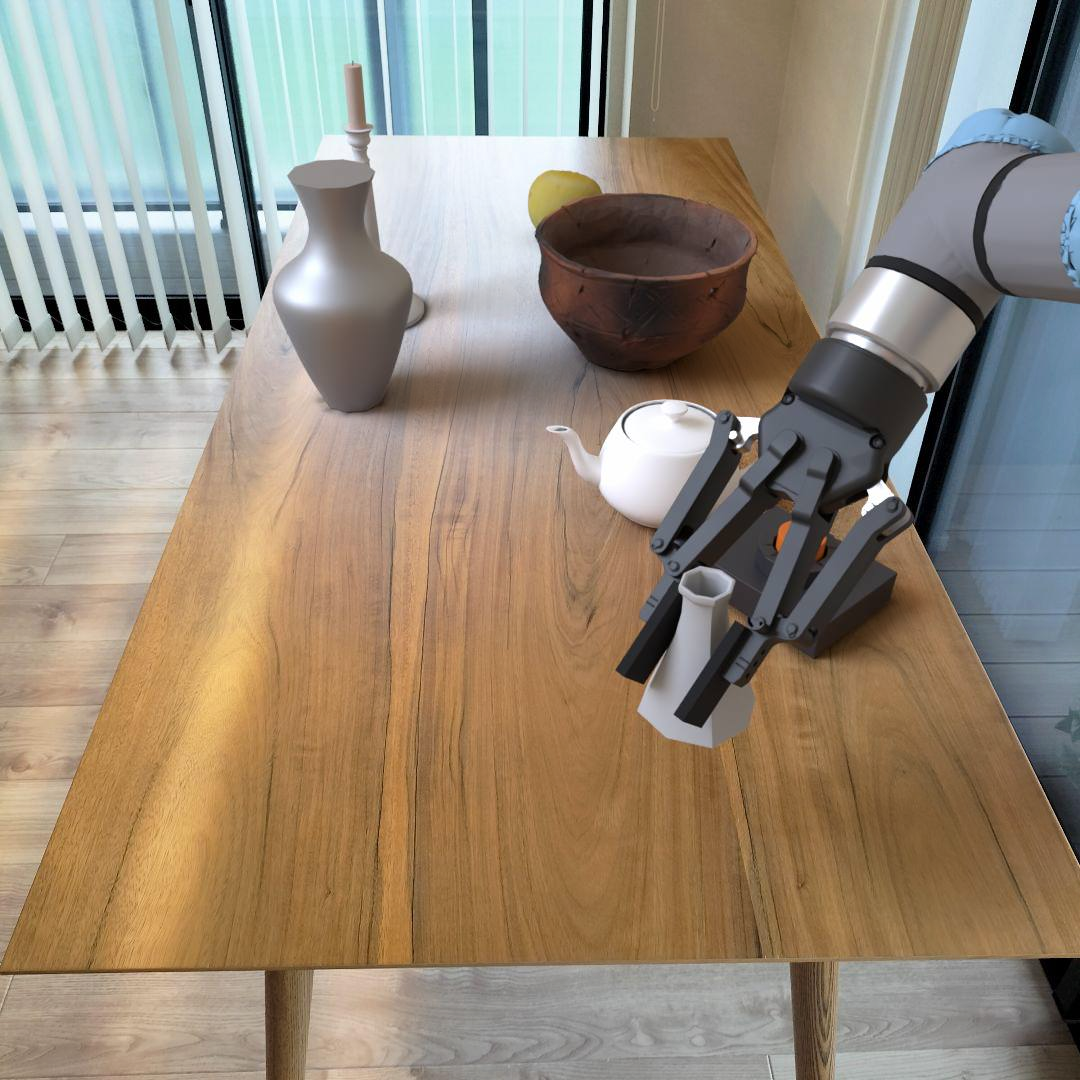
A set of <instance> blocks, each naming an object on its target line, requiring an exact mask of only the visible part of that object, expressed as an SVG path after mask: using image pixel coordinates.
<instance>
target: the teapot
mask: <svg viewBox="0 0 1080 1080" xmlns="http://www.w3.org/2000/svg"><path fill="white" fill-rule="evenodd" d="M716 416H717V413H715V412H713V410H711V409H709V408H707V407H705V406H703V405H700V404H697V403H694V402H690V401H686V400H680V399H653V400H648V401H647V400H646V401H644V402H643V401H642V402H639V403H637V404H634V405H632V406H630V407H629V408H628V409H627V410H625V411H624V412H623V413H622V414H621V415H620V416H619V418H618V419H617V421H616V422H615V423H614V425H613V427H612V428H611V430H610V432H609V433H608V435H607V437H606V438H605V440H604V443H603V444H602V446H601V449H600V452H599V455H595V454H591V453H589V452H588V451H586V450H585V448H584V446H583V444H582V441H581V439H580V437H579V435H578V433H577V432H576V430H574V429H573V428H571V427H569V426H565V425H549V426H546V428H545V430H546V431H547V432H550V433H552V434H554V435H555V436H557V437H559V438H561V439H562V441H563V442H564V443H565V445H566V446H567V449H568V451H569V454H570V457H571V460H572V464H573V467H574V469H575V471H576V473H577V474H578V475H579V477H580V478H581V479H582V480H583V481H585V482H586V483H588V484H589V485H591V486H594V487H598V489H599V491H600V494H601V495H602V497H603V498H604V499H605V501H606V502H607V503H608V504H609V505H610V506H611V507H612V508H613V509H614V510H616V511H617V512H618V513H619V514H622V516H624V517H626V518H627V519H629V520H630V521H632V522H635V523H637V524H638V525H642V526H644V527H648V528H652V529H658V527H659V526H660V524H661V522H662V521H663V519H664V518H665V516H666V514H667V513H668V511H669V509H670V508H671V506H672V504H673V503H674V501H675V499H676V498H677V496H678V494H679V493H680V491H681V490H682V488H683V486H684V485H685V483H686V481H687V480H688V478H689V476H690V475H691V473H692V471H693V470H694V468H695V466H696V465H697V463H698V462H699V460H700V458H701V457H702V455H703V453H704V452H705V450H706V448H707V447H708V445H709V443H710V439H711V435H712V431H713V426H714V422H715V418H716ZM754 443H757V444H758V440H756V441H755V442H754ZM757 460H758V458H757V459H755V460H754V461H753V462H752V463H750V464H748V465H747V466H746V467H744V468H742V469H740V467H739V466H740V464H739V465H738V467H737V469H736V471H735V472H734V474H733V476H732V477H731V479H730V481H729V482H728V484H727V485H726V487H725V489H724V490H723V492H722V494H721V495H720V497H719V499H718V500H717V502H716V504H715V505H714V507H713V508H712V510H711V512H710V513H709V515H708V517H707V518H706V520H707V519H708V518H709V517H710V516H711V515H712V514H713V512H714V511H715V510H716V509H717V508H718V507H719V506H720V505H721V504H722V503H723V502H724V501H725V500H726V499H727V498H728V497H729V496H730V494H731V493H732V492H733V491H734V490H735V489H736V488H737V487H738V485H739V481H740V479H741V477H742V476H743V475H744V474H745V473H746V471H747V470H748V469H749V468H750V467H751V466H752V465H753V464H754V463H755V462H756V461H757ZM706 520H705V521H706Z"/></svg>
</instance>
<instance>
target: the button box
mask: <svg viewBox="0 0 1080 1080" xmlns="http://www.w3.org/2000/svg"><path fill="white" fill-rule="evenodd" d="M791 514H792V512H790V511H788V510H786V509H785V508H782V507H780V506H779V505H778V504H777V505H776V506H775V507H773V508H772V509H768V510H766V511H765V512H764V513H763V514H762V515H761V516H760V517H759V518H758V519H757V520H756V521H755V522H754V523H753V524H752V525H751V526H750V527H749V529H748V530H747V531H746V532H745V533H744V534H743V535H742V536H741V537H740V538H739V539H738V540H737V541H736V542H735V543H734V544H733V545H732V546H731V547H730V548H729V549H728V551H727V552H726V553H725V554H724V555H723V556H722V557H721V558H720V559H719V560H718V561H717V562H716V563H715V564H714V565H713V566H712V567H711V568H714V569H719V570H722V571H723V572H725V573H726V574H727V575H729V576H730V577H732V578H733V579H734V580H735V586H734V589H733V592H732V595H731V598H730V600H729V601H728V606H729V605H730V606H731V607H732V608H734V609H735V610H737V611H739V612H740V613H741V614H743V615H745V616H747V617H749V618H752V616H753V614H754V611H755V609H756V606H757V604H758V601H759V599H760V597H761V594H762V592H763V589H764V587H765V584H766V582H767V580H768V577H769V575H770V572H771V570H772V567H773V565H774V563H775V560H776V558H777V555H778V552H777V550H776V542H777V537H778V531H779V528H780V527H781V525H782V524H784V523H786V522H788V521H792V515H791ZM842 541H843V540H840V539H838V538H836V537H835V536H834V535H833V534H831V533H830V532H829V534H828V536H827V540H826V545H825V549H824V554H823V557H822V558H821V559H820V560H819V561H817V562H815V563H813V566H812V568H811V570H810V573H809V575H808V578H807V580H806V583H805V585H804V588H803V590H802V592H801V595H800V597H799V600H798V602H797V604H798V603H799V601H800V600H801V598H802V597H803V596H804V594H805V593H806V591H807V590H808V589H809V587H810V586H811V584H812V583H813V582H814V580H815V579H816V577H817V576H818V574H819V573H820V572H821V570H822V569H823V567H824V566H825V565H826V563H827V562H828V560H829V559H830V558H831V556H832V555H833V553H834V552H835V551H836V549H837V548H838V546H839V545H840V543H841V542H842ZM898 574H899V573H898V572H897V571H896V570H894V569H892V568H890V567H889V566H886V565H885V564H883V563H881V562H879V561H877V560H876V559H874V561H873V562H872V563H871V565H870V566H869V568H868V569H867V570H866V572H865V573H864V575H863V576H862V577H861V579H860V580H859V582H858V583H857V584H856V586H855V587H854V589H853V590H852V591H851V593H850V594H849V596H848V597H847V598H846V600H845V601H844V603H843V604H842V606H841V607H840V608H839V610H838V611H837V613H836V614H835V615H834V617H833V618H832V620H831V621H830V622H829V624H828V625H827V627H826V628H825V629H824V631H823V632H822V634H821V635H820V636H819V638H818V639H817V641H816V642H815V643H814V645H812V646H811V647H809V648H802V647H800V646H796V645H792V646H793V647H794V648H796V649H798V650H799V651H801V652H802V653H804V654H806V655H807V656H809V657H810V658H812V659H815V658H816V657H818V656H819V655H820V654H821V653H823V652H824V651H825V650H827V649H828V648H830V647H831V646H832V645H833V644H834V643H836V642H838V641H839V640H840V639H841V638H843V637H844V636H845V635H847V634H849V633H850V632H851V631H852V630H853V629H855V628H856V627H857V626H858V625H861V624H862V623H863V622H864V621H865V620H867V619H868V618H869V617H871V616H872V615H873V614H874V613H876V612H877V611H878V610H880V609H882V607H884V606H885V605H887V604H888V603H889V602H891V599H892V595H893V591H894V588H895V584H896V581H897V577H898ZM796 606H797V605H796Z"/></svg>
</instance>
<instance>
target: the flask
mask: <svg viewBox="0 0 1080 1080" xmlns="http://www.w3.org/2000/svg"><path fill="white" fill-rule="evenodd" d="M734 586H735V580H734V579H733V578H732V577H730V576H729V575H727V574H726V573H725V572H723V571H722V570H719V569H714V568H708V567H703V566H699V567H697V568H694V569H692V570H690V571H688V572H686V573H684V574H683V576H682V579H681V581H680V584H679V587H678V590H679V593H680V594H682V595H683V603H682V613H681V617H680V620H679V623H678V627H677V630H676V632H675V634H674V636H673V638H672V641H671V643H670V645H669V647H668V649H667V650H666V652H665V653H664V655H663V656H662V658H661V659H660V661H659V662H658V664H657V665H656V667H655V668H654V670H653V671H652V673H651V675H650V678H649V680H648V682H647V685H646V688H645V690H644V692H643V695H642V698H641V700H640V703H639V705H638V708H637V712H638V713H639V714H640V715H641V717H643V718H644V719H645V720H646V721H647V722H648V723H649V724H650V725H652V726H653V728H655V729H656V730H657V731H658V732H659V733H660V734H661V735H662V736H663V737H665V738H666V739H670V740H674V741H678V742H682V743H687V744H690V745H691V744H692V745H694V746H699V747H704V748H709V749H715V748H717V747H718V746H720V745H721V744H724V743H725V742H727V741H729V740H730V739H732V738H734V737H737V736H738V735H740V734H742V733H743V732H745V731H747V730H748V729H749V725H750V722H751V718H752V714H753V710H754V706H755V702H756V696H755V692H754V690H753V687H752V684H751V681H750V682H749V683H748V684H746V685H745V686H744V687H742V688H741V687H738V686H736V685H734V684H732V683H731V685H730V686H729V688H728V689H727V691H726V692H725V694H724V695H723V697H722V698H721V700H720V701H719V703H718V704H717V706H716V707H715V709H714V710H713V712H712V713H711V715H710V716H709V718H708V719H707V721H706V722H705V724H704V726H703V727H702V728H699V727H696V726H693V725H691V724H688V723H685V722H682V721H681V720H680V719H679V718H677V717H676V716H675V715H673V714H674V713H675V711H676V710H677V708H678V707H679V705H680V703H681V702H682V700H683V699H684V697H685V696H686V694H687V693H688V691H689V690H690V688H691V687H692V685H693V684H694V682H695V681H696V679H697V678H698V676H699V675H700V673H701V671H702V670H703V668H704V667H705V665H706V664H707V662H708V661H709V659H710V658H711V656H712V655H713V653H714V652H715V650H716V649H717V647H718V646H719V644H720V643H721V641H722V640H723V638H724V636H725V635H726V633H727V632H728V630H729V629H730V627H731V621H730V614H729V613H730V612H729V604H728V601H729V600H730V598H731V595H732V592H733V589H734Z"/></svg>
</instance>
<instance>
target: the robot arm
mask: <svg viewBox="0 0 1080 1080" xmlns="http://www.w3.org/2000/svg"><path fill="white" fill-rule="evenodd" d="M1003 296H1008V297H1014V298H1023V299H1036V300H1043V301H1050V302H1051V301H1052V302H1059V303H1067V304H1074V305H1075V304H1076V305H1080V151H1077V150H1076V149H1075V147H1074V146H1073V144H1072V142H1070V140H1069V139H1068V138H1067V137H1066V136H1065V134H1063V133H1062V132H1061V131H1059V130H1058V129H1057V128H1055V127H1054V126H1053V125H1051V124H1050V123H1048V122H1046V121H1045V120H1043V119H1041V118H1040V117H1037V116H1035V115H1032V114H1030V113H1026V112H1024V113H1021V114H1017V113H1014V112H1013V111H1011V110H1010V109H1008V108H1005V107H991V108H986V109H981V110H978V111H976V112H974V113H972V114H971V115H969V116H967V117H966V118H964V119H963V120H962V121H961V122H960V124H958V125H957V127H956V129H955V130H954V132H953V133H952V134H951V136H950V137H949V139H948V140H947V141H946V143H945V144H944V145H943V147H942V148H941V150H940V151H938V152H937V153H936V154H935V157H933V158H931V159H930V161H928V164H927V165H926V166H925V168H924V169H923V171H922V173H921V174H920V178H919V180H918V181H917V183H916V184H915V186H914V188H913V189H912V191H911V192H910V194H909V196H908V197H907V199H905V202H904V203H903V205H902V207H901V208H900V210H899V211H898V213H897V215H896V216H895V218H894V219H893V221H892V223H891V224H890V225H889V227H888V228H887V230H886V232H885V233H884V235H883V237H882V238H881V240H880V241H879V243H878V244H877V246H876V248H875V249H874V251H873V252H872V254H871V256H870V257H869V259H868V262H867V263H866V265H865V266H864V268H863V269H861V271H860V273H859V275H857V278H856V279H855V280H854V282H853V283H852V285H851V286H850V287H849V289H848V291H847V293H846V294H845V295H844V297H842V298H843V299H842V300H841V301H840V303H839V305H838V306H837V307H836V309H835V311H834V312H833V314H832V315H831V316H830V318H829V320H828V321H827V322H826V324H825V332H826V336H827V337H823V338H821V339H817V340H815V341H814V343H813V344H812V346H811V348H810V349H809V351H808V352H807V354H806V356H804V358H803V360H802V361H801V363H800V364H799V365H798V367H797V369H796V371H795V372H794V373H793V375H792V377H791V378H790V380H789V381H788V383H787V385H786V388H785V390H784V392H783V396H782V398H781V399H780V401H778V402H777V404H775V405H774V406H773V407H771V408H770V409H768V410H766V411H765V412H764V413H763V414H762V415H761V417H747V416H736V414H734V413H733V412H732V411H731V410H730V409H722V410H721V411H719V412H718V413H716V415H717V416H716V418H715V422H714V426H713V431H712V435H711V439H710V443H709V445H708V447H707V448H706V450H705V452H704V453H703V455H702V457H701V458H700V460H699V462H698V463H697V465H696V466H695V468H694V470H693V471H692V473H691V475H690V476H689V478H688V480H687V481H686V483H685V485H684V486H683V488H682V490H681V491H680V493H679V494H678V496H677V498H676V499H675V501H674V503H673V504H672V506H671V508H670V509H669V511H668V513H667V514H666V516H665V518H664V519H663V521H662V522H661V524H660V526H659V527H658V528H656V531H655V532H654V534H653V535H652V537H651V539H650V541H649V548H650V551H651V552H652V553H654V554H655V555H656V556H657V558H658V559H659V561H660V563H661V564H662V566H663V573H662V576H661V578H660V579H659V580H658V582H657V584H656V585H655V587H654V588H653V590H652V592H651V593H650V595H649V596H648V598H647V599H646V601H645V602H644V604H643V605H642V607H641V609H640V610H639V611H640V612H639V616H638V619H640V620H641V621H642V622H644V625H643V627H642V628H641V630H640V631H639V633H638V634H637V636H636V638H635V639H634V641H633V642H632V643H631V645H630V647H629V648H628V649H627V651H626V653H625V655H624V656H623V657H622V659H621V660H620V662H619V663H618V664H617V666H616V668H615V670H614V671H615V672H616V673H618V674H619V675H621V677H623V678H625V679H628V680H630V681H632V682H635V683H638V684H641V685H643V686H644V685H645V684H646V682H647V681H648V679H650V678H649V677H651V675H652V674H653V672H654V671H655V669H656V667H657V665H658V664H659V662H660V660H661V658H662V657H663V655H664V653H665V652H666V650H667V649H668V647H669V645H670V643H671V641H672V638H673V636H674V634H675V632H676V630H677V627H678V623H679V620H680V617H681V613H682V603H683V595H682V594H680V593H679V590H678V587H679V584H680V581H681V579H682V576H683V574H684V573H686V572H688V571H690V570H692V569H694V568H697V567H699V566H703V567H708V568H711V567H712V566H713V565H714V564H715V563H716V562H717V561H718V560H719V559H720V558H721V557H722V556H723V555H724V554H725V553H726V552H727V551H728V549H729V548H730V547H731V546H732V545H733V544H734V543H735V542H736V541H737V540H738V539H739V538H740V537H741V536H742V535H743V534H744V533H745V532H746V531H747V530H748V529H749V527H750V526H751V525H752V524H753V523H754V522H755V521H756V520H757V519H758V518H759V517H760V516H761V515H762V514H763V513H765V512H766V511H768V510H770V509H772V508H773V507H775V506H776V505H777V506H778V504H779V503H780V502H781V501H782V500H784V501H788V502H792V503H794V505H793V507H792V510H791V515H792V521H791V524H790V526H789V529H788V531H787V534H786V536H785V538H784V541H783V543H782V546H781V548H780V551H779V553H778V555H777V558H776V560H775V563H774V565H773V567H772V570H771V572H770V575H769V577H768V580H767V582H766V584H765V587H764V589H763V592H762V594H761V597H760V599H759V601H758V604H757V606H756V609H755V611H754V614H753V616H752V618H750V617H748V616H747V615H745V616H746V617H745V625H744V624H742V623H741V622H739V621H738V620H736V619H735V620H734V621H733V623H732V624H731V625H730V629H729V630H728V632H727V633H726V635H725V636H724V638H723V640H722V641H721V643H720V644H719V646H718V647H717V649H716V650H715V652H714V653H713V655H712V656H711V658H710V659H709V661H708V662H707V664H706V665H705V667H704V668H703V670H702V671H701V673H700V675H699V676H698V678H697V679H696V681H695V682H694V684H693V685H692V687H691V688H690V690H689V691H688V693H687V694H686V696H685V697H684V699H683V700H682V702H681V703H680V705H679V707H678V708H677V710H676V711H675V713H674V714H673V715H675V716H676V717H677V718H679V719H680V720H681V721H682V722H685V723H688V724H691V725H693V726H696V727H699V728H702V727H703V726H704V724H705V722H706V721H707V719H708V718H709V716H710V715H711V713H712V712H713V710H714V709H715V707H716V706H717V704H718V703H719V701H720V700H721V698H722V697H723V695H724V694H725V692H726V691H727V689H728V688H729V686H730V685H731V683H732V684H734V685H736V686H738V687H741V688H742V687H744V686H745V685H746V684H748V683H749V682H750V683H751V680H752V679H753V677H754V676H755V674H756V672H757V671H758V670H759V668H760V667H761V665H762V663H763V662H764V661H765V659H766V657H767V656H768V654H770V651H771V650H772V649H773V647H775V646H776V645H779V644H786V645H787V644H788V645H792V646H793V645H796V646H800V647H802V648H809V647H811V646H812V645H814V643H815V642H816V641H817V639H818V638H819V636H820V635H821V634H822V632H823V631H824V629H825V628H826V627H827V625H828V624H829V622H830V621H831V620H832V618H833V617H834V615H835V614H836V613H837V611H838V610H839V608H840V607H841V606H842V604H843V603H844V601H845V600H846V598H847V597H848V596H849V594H850V593H851V591H852V590H853V589H854V587H855V586H856V584H857V583H858V582H859V580H860V579H861V577H862V576H863V575H864V573H865V572H866V570H867V569H868V568H869V566H870V565H871V563H872V562H873V561H874V560H876V558H877V557H878V555H879V554H880V552H881V551H882V549H883V548H884V547H885V545H887V544H888V543H890V542H891V541H893V540H894V539H895V538H896V537H898V536H899V535H901V534H902V533H904V532H905V531H906V530H907V529H909V528H910V527H911V526H912V525H913V523H914V520H915V517H914V513H912V510H910V508H909V507H908V506H907V505H906V503H905V502H904V501H903V500H902V499H901V498H900V497H899V496H896V495H895V494H894V493H893V492H892V491H891V489H890V488H889V487H888V486H887V485H886V484H887V482H888V480H889V471H890V466H891V463H892V460H893V459H894V457H895V456H896V455H897V453H898V452H899V451H900V450H901V449H902V447H903V446H904V445H905V443H906V441H907V440H908V438H909V437H910V435H911V434H912V432H913V431H914V429H915V427H916V426H917V425H918V423H919V421H920V420H921V419H922V417H923V415H924V414H925V412H926V411H927V410H928V408H929V403H928V397H927V395H929V394H933V393H936V392H938V391H940V390H941V387H942V386H943V385H944V383H945V382H946V380H947V378H948V377H949V375H950V374H951V372H952V371H953V369H954V368H955V366H956V364H957V363H958V362H959V360H960V359H961V357H962V356H963V354H964V352H965V351H966V349H967V348H968V346H969V345H970V343H972V340H973V339H974V337H975V336H976V335H977V334H978V332H979V331H980V330H981V328H982V326H983V324H984V323H985V319H986V318H987V317H988V315H989V314H990V313H991V312H992V310H993V309H994V307H995V306H996V305H997V303H998V302H999V300H1000V299H1001V298H1002V297H1003ZM756 440H758V443H757V459H758V460H757V459H756V460H757V461H756V460H755V461H756V462H755V463H754V464H753V465H752V466H751V467H750V468H749V469H748V470H747V471H746V473H745V474H744V475H743V476H742V477H741V479H740V481H739V485H738V487H737V488H736V489H735V490H734V491H733V492H732V493H731V494H730V496H729V497H728V498H727V499H726V500H725V501H724V502H723V503H722V504H721V505H720V506H719V507H718V508H717V509H716V510H715V511H714V512H713V514H712V515H711V516H710V517H709V518H708V519H707V520H706V518H707V517H708V515H709V513H710V512H711V510H712V508H713V507H714V505H715V504H716V502H717V500H718V499H719V497H720V495H721V494H722V492H723V490H724V489H725V487H726V485H727V484H728V482H729V481H730V479H731V477H732V476H733V474H734V472H735V471H736V469H737V467H738V465H739V466H740V463H741V460H742V458H743V454H748V453H750V452H751V450H752V446H753V444H754V443H756V442H755V441H756ZM866 498H868V499H867V501H866V502H865V504H864V505H863V506H862V508H861V517H860V518H859V519H858V520H857V521H856V522H855V523H854V524H853V525H852V526H851V528H850V529H849V531H848V532H847V533H846V534H845V536H844V537H843V539H842V540H841V541H842V542H841V543H840V545H839V546H838V548H837V549H836V551H835V552H834V553H833V555H832V556H831V558H830V559H829V560H828V562H827V563H826V565H825V566H824V567H823V569H822V570H821V572H820V573H819V574H818V576H817V577H816V579H815V580H814V582H813V583H812V584H811V586H810V587H809V589H808V590H807V591H806V593H805V594H804V596H803V597H802V598H801V600H800V601H799V603H798V604H797V602H798V600H799V597H800V595H801V592H802V590H803V588H804V585H805V583H806V580H807V578H808V575H809V573H810V570H811V568H812V566H813V563H814V561H815V558H816V556H817V553H818V551H819V548H820V546H821V544H822V541H823V539H824V538H825V537H826V536H828V534H829V533H830V532H831V531H832V528H833V525H834V523H835V520H836V518H837V516H838V514H839V510H841V509H844V508H846V507H849V506H850V505H853V504H855V503H857V502H859V501H862V500H863V499H866ZM705 520H706V521H705ZM796 605H797V606H796Z"/></svg>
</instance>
